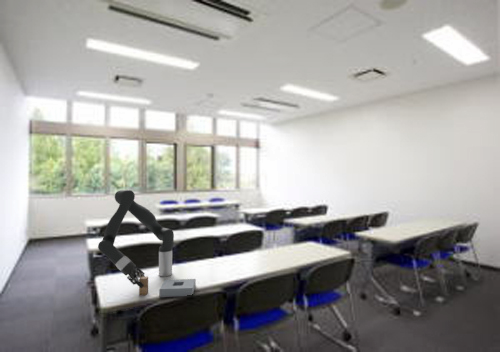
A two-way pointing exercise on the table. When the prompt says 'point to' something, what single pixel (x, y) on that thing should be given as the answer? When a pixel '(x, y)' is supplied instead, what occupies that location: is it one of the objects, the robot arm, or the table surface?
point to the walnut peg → (145, 288)
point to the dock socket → (177, 287)
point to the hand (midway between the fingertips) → (145, 284)
